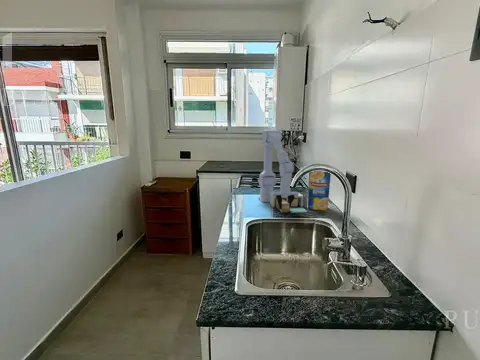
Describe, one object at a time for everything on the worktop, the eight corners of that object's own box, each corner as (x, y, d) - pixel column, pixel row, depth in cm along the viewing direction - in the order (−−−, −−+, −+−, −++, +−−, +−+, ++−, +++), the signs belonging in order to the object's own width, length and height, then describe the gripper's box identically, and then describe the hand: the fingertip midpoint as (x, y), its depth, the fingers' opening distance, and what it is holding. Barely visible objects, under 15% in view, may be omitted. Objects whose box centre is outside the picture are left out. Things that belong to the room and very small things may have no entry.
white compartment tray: (269, 203, 162) (270, 193, 161) (298, 203, 165) (299, 192, 164) (272, 207, 156) (273, 196, 154) (302, 206, 158) (303, 195, 157)
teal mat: (287, 208, 153) (287, 207, 153) (302, 208, 154) (302, 207, 154) (291, 212, 146) (291, 211, 146) (307, 212, 147) (307, 211, 147)
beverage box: (327, 210, 152) (331, 171, 148) (307, 208, 154) (310, 170, 149) (325, 206, 159) (329, 169, 154) (306, 205, 160) (309, 169, 156)
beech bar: (275, 205, 158) (275, 198, 157) (281, 205, 159) (281, 198, 158) (282, 212, 147) (282, 204, 146) (288, 211, 147) (289, 204, 146)
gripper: (274, 186, 141) (273, 211, 144) (301, 186, 143) (299, 210, 146) (271, 183, 148) (270, 207, 151) (296, 183, 150) (295, 206, 153)
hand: (284, 208), depth 149 cm, fingers closed on beech bar, 4 cm apart
